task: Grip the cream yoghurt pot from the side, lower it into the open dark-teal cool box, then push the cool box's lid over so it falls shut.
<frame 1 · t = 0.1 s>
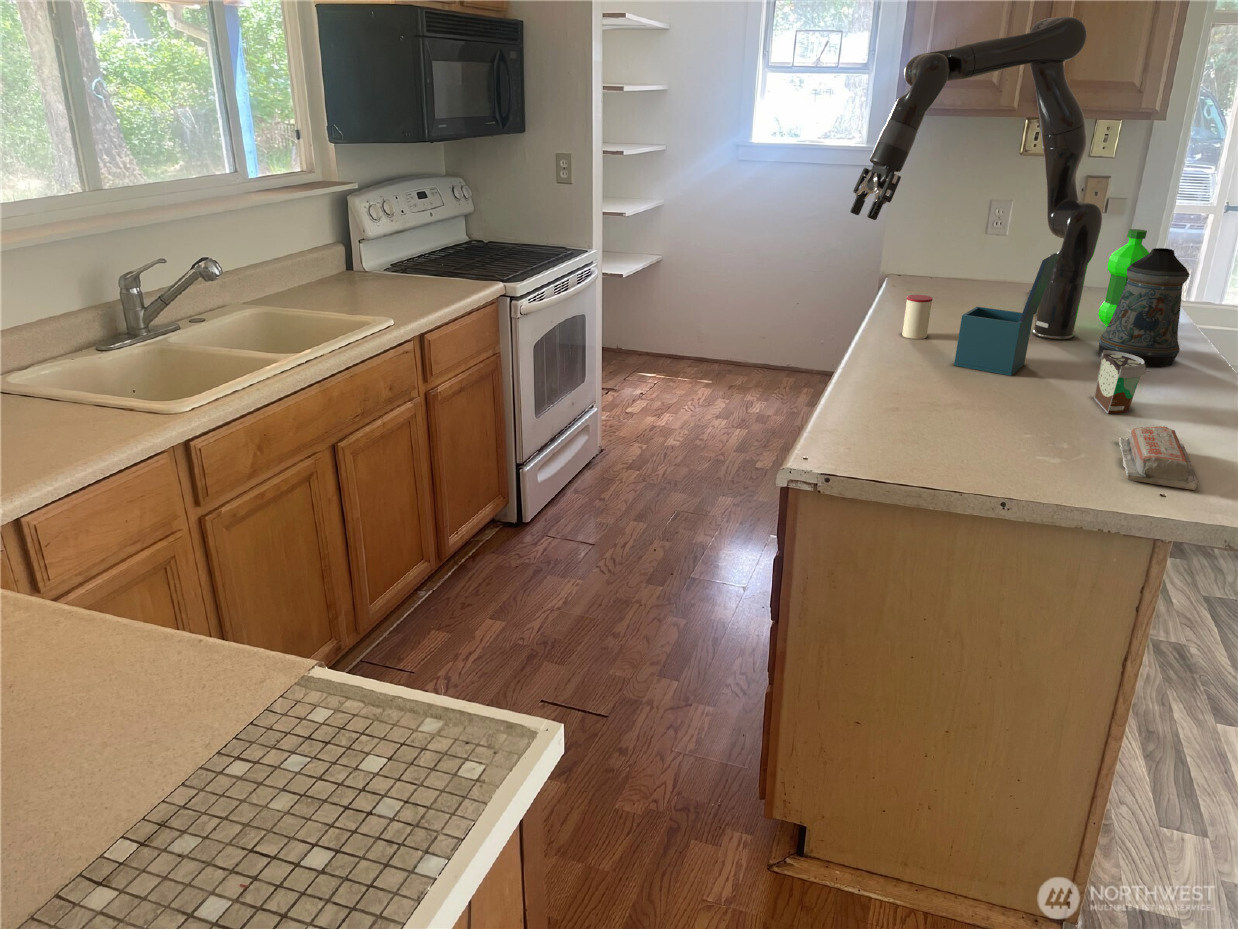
hand: (862, 216, 200), 31 cm above the countertop, tool tilted 20°, fingers open, 8 cm apart
cool box: (989, 365, 200), on the countertop
cool box lid: (1039, 287, 188), point 19 cm above the countertop, hinge at 100.0°
plastic bottle: (1115, 327, 232), on the countertop
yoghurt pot: (914, 335, 223), on the countertop
food container: (1117, 407, 174), on the countertop
packaged product: (1154, 467, 147), on the countertop
beer stein: (1133, 356, 206), on the countertop
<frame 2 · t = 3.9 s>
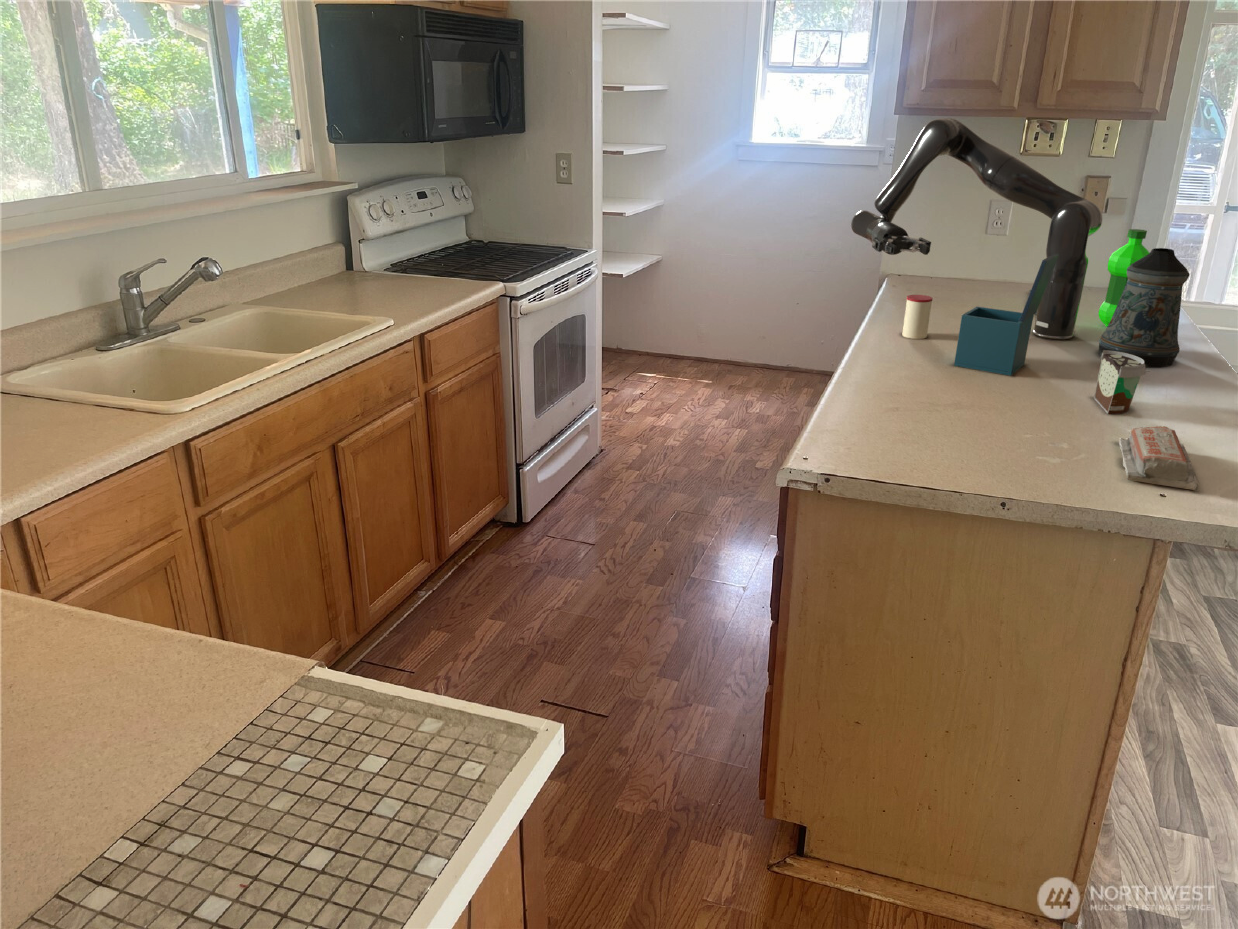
hand: (911, 250, 225), 20 cm above the countertop, tool horizontal, fingers open, 8 cm apart
nothing on the countertop moved.
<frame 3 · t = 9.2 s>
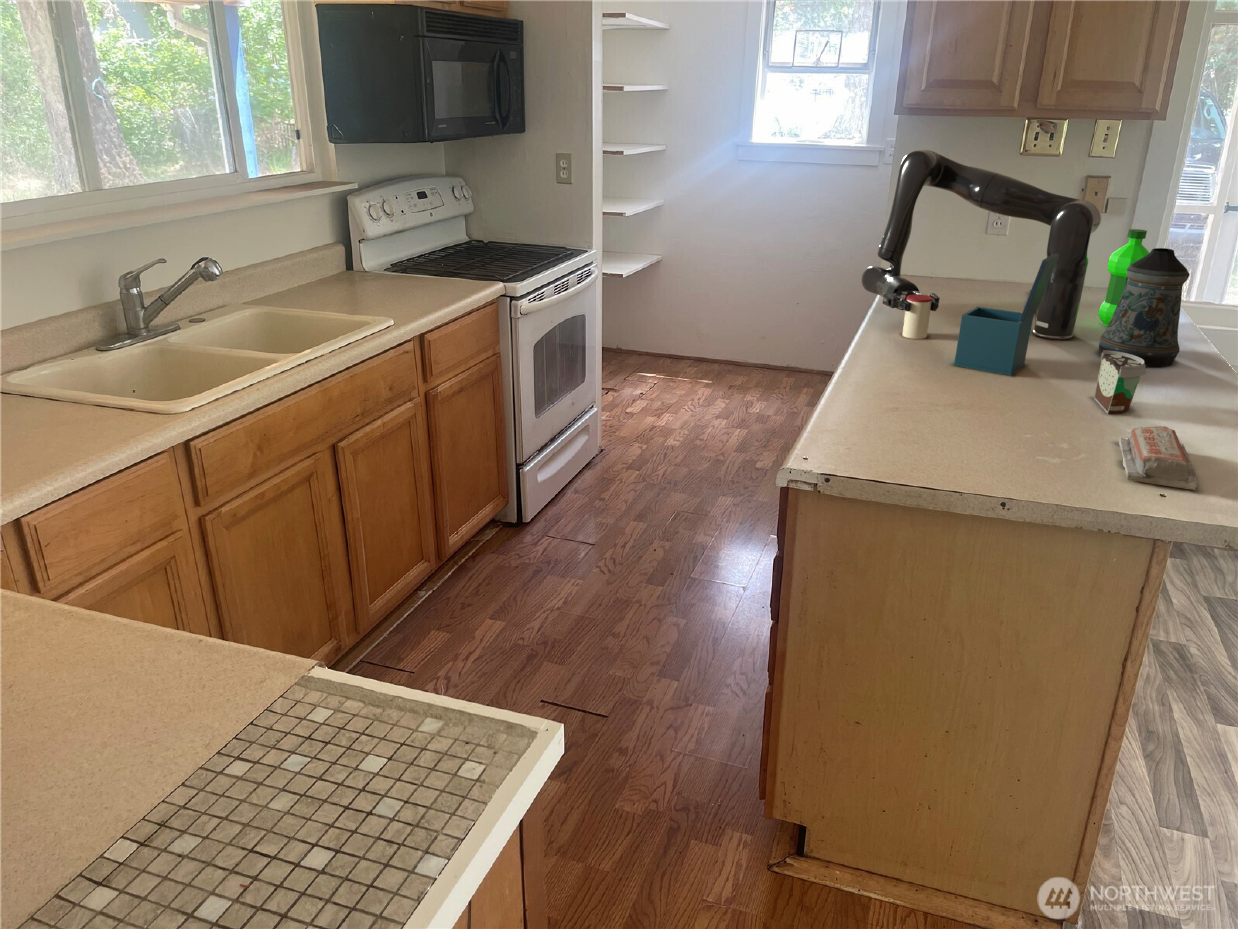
hand: (922, 307, 218), 8 cm above the countertop, tool horizontal, fingers closed on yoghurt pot, 6 cm apart
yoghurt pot: (914, 335, 223), on the countertop, touching gripper
everything else where it was.
when the fingers open (16 cm above the countertop, at t = 38.5 s): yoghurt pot stays where it is, point 8 cm above the countertop.
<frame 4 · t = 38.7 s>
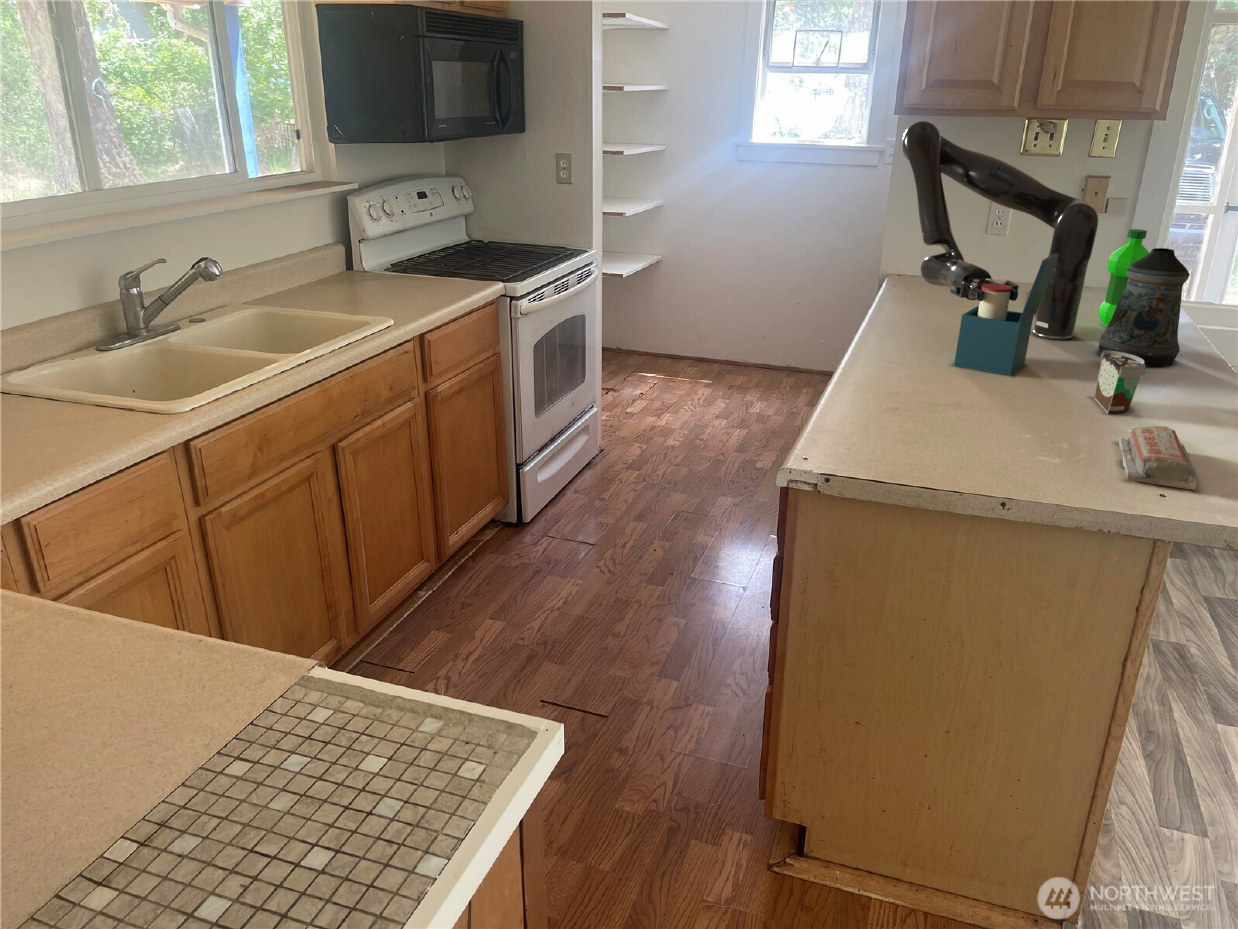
hand: (998, 296, 192), 16 cm above the countertop, tool horizontal, fingers open, 7 cm apart
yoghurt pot: (989, 330, 198), point 8 cm above the countertop, touching gripper
everything else where it was.
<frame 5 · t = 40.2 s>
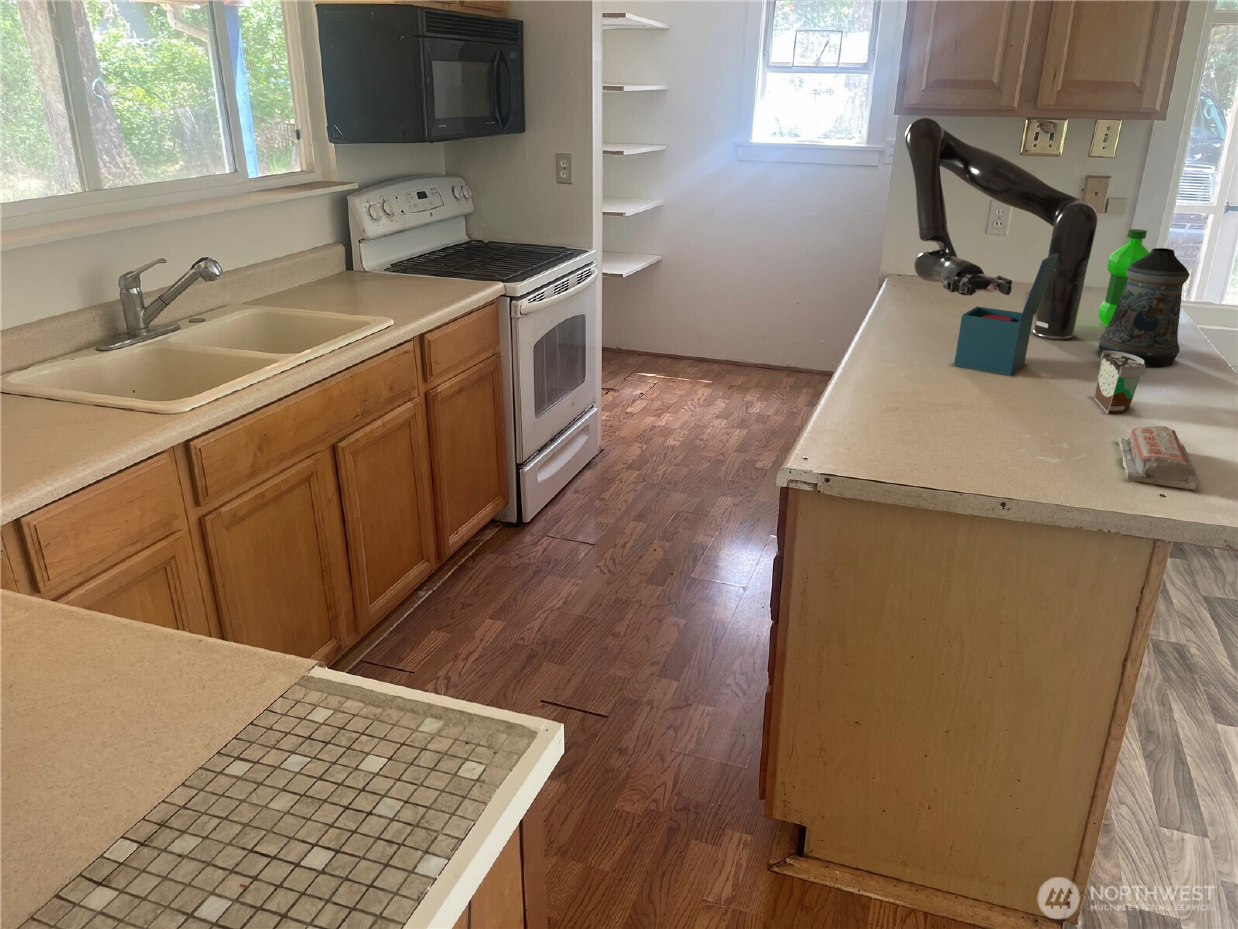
hand: (990, 290, 196), 16 cm above the countertop, tool horizontal, fingers open, 8 cm apart
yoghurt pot: (989, 360, 201), point 1 cm above the countertop, touching cool box
everything else where it was.
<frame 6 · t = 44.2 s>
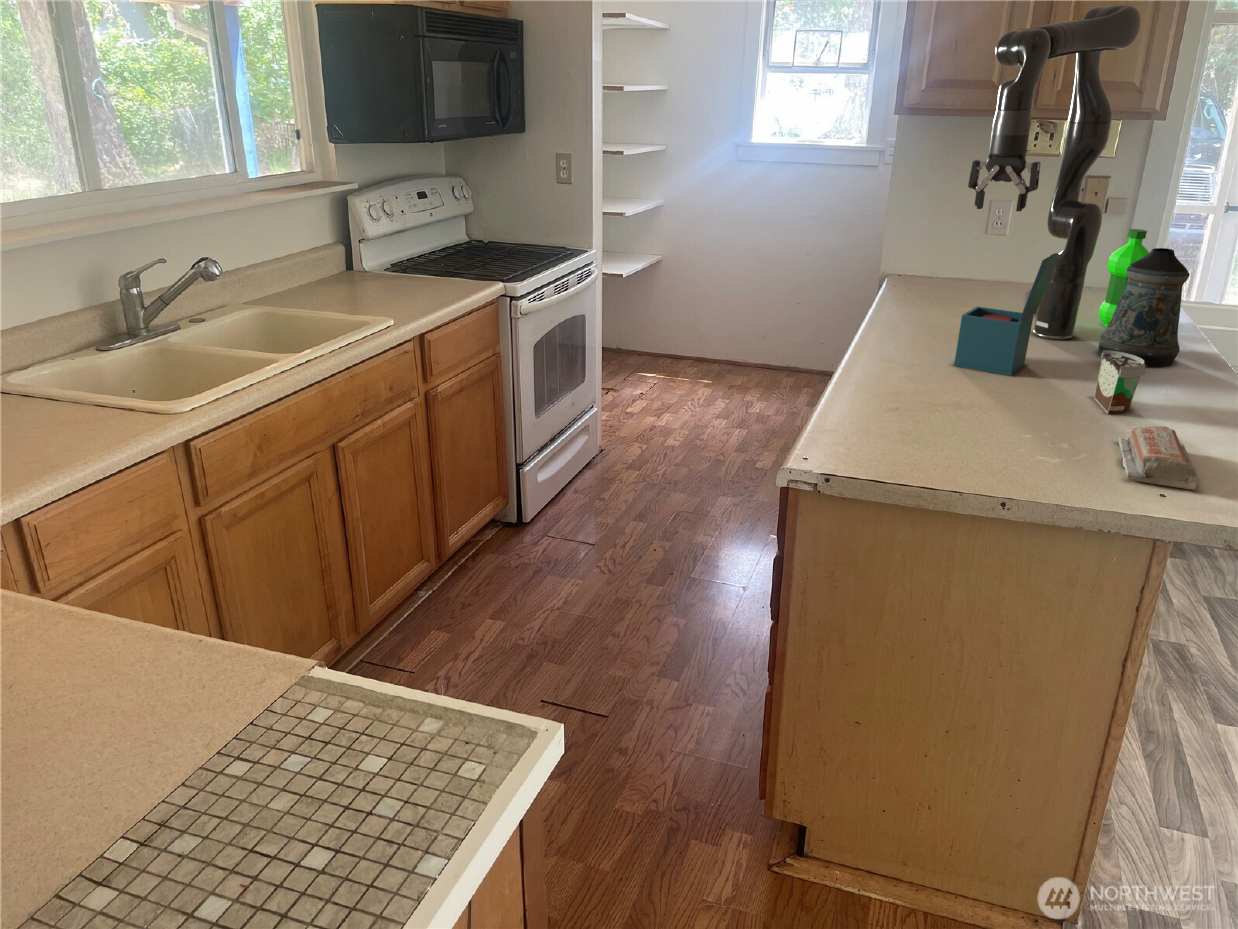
hand: (999, 209, 194), 34 cm above the countertop, tool pointing down, fingers open, 8 cm apart
nothing on the countertop moved.
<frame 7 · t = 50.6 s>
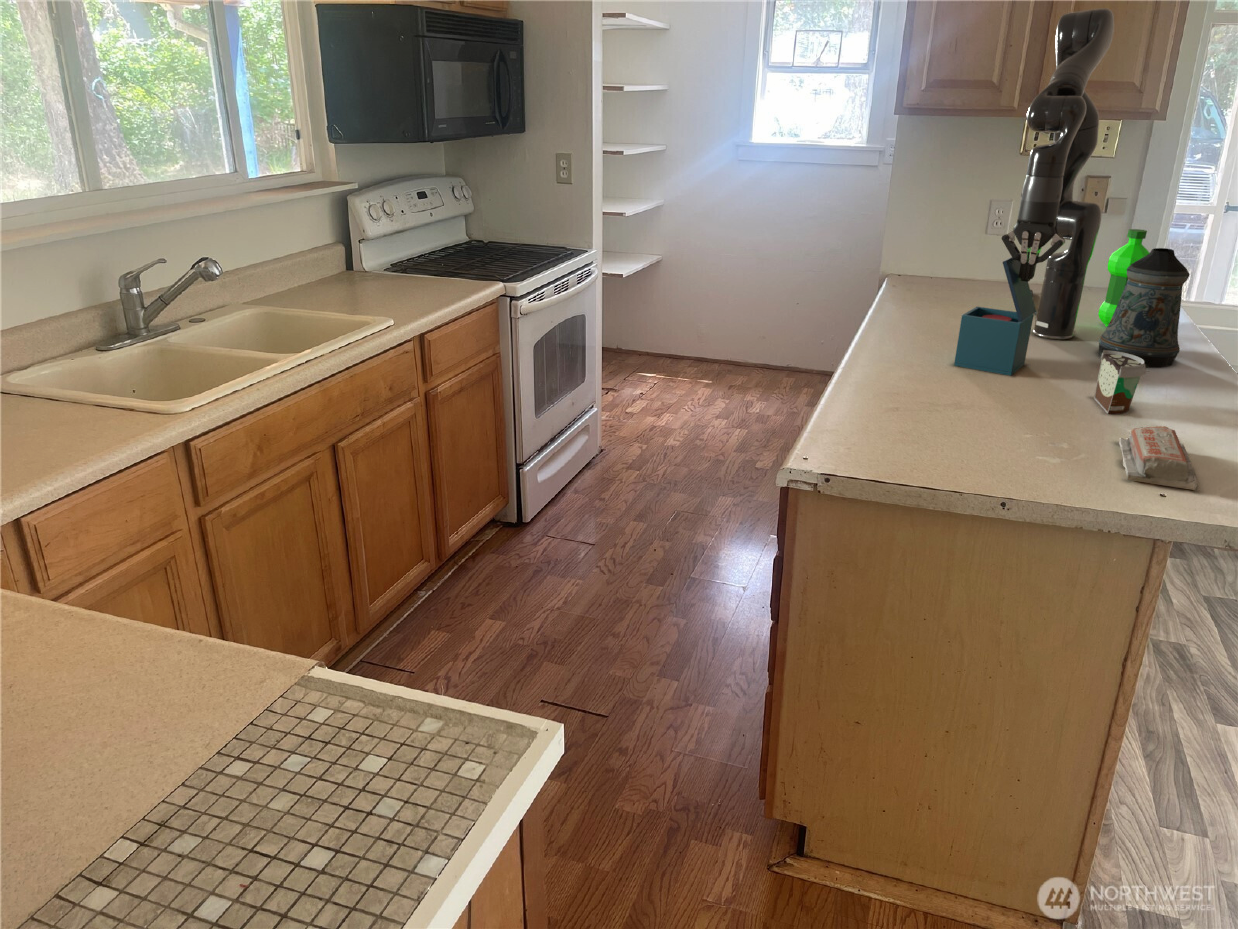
hand: (1025, 280, 189), 20 cm above the countertop, tool pointing down, fingers closed
cool box lid: (1019, 287, 191), point 18 cm above the countertop, hinge at 65.5°
everything else where it was.
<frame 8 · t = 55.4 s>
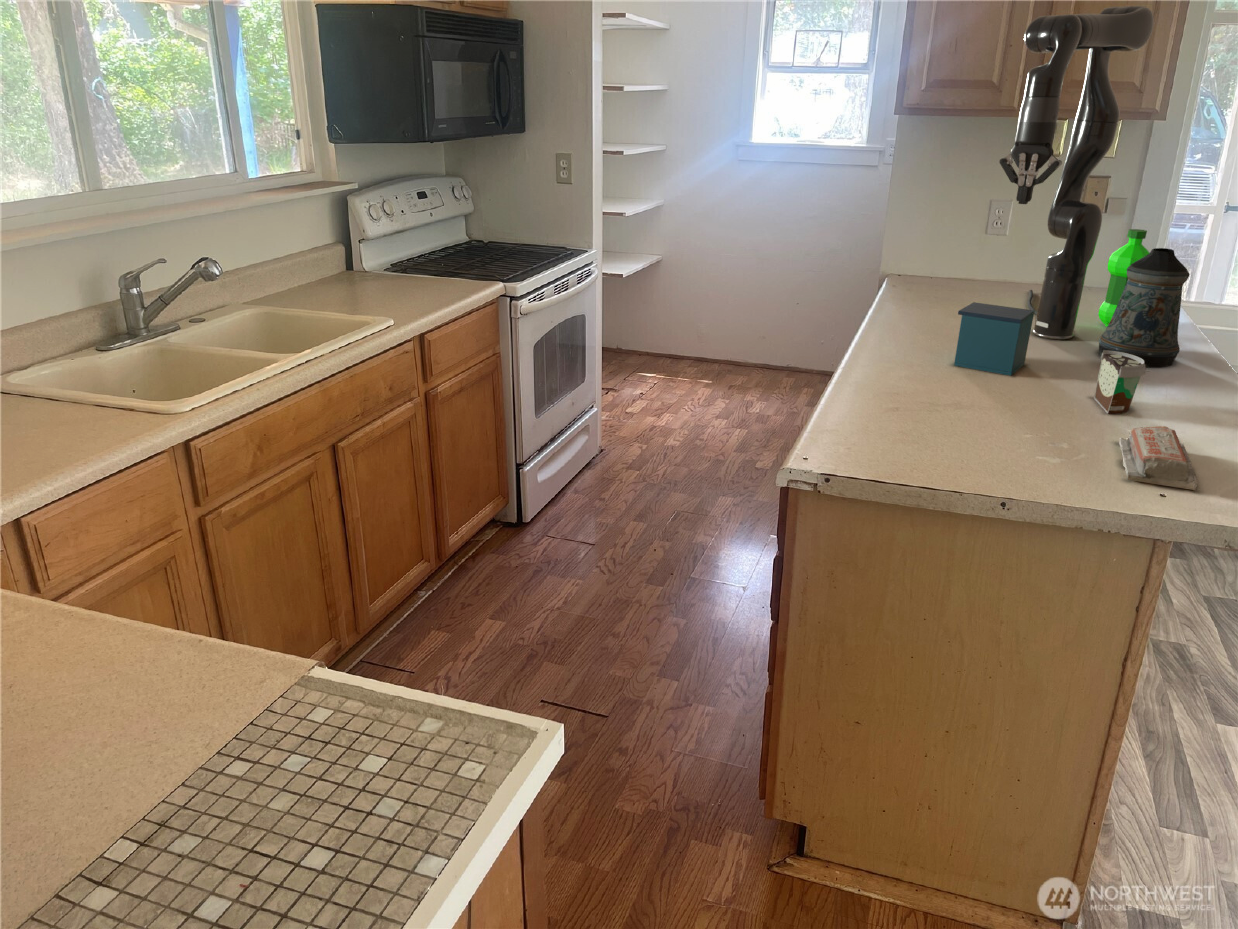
hand: (1022, 203, 193), 35 cm above the countertop, tool pointing down, fingers closed
cool box lid: (996, 312, 195), point 12 cm above the countertop, hinge at -0.2°
everything else where it was.
at the end: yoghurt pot inside the target area in the cool box (1.1 cm from its centre), point 0.8 cm above the cool box's base; cool box lid at +0° (first picture: +100°); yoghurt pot tilted 0° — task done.
